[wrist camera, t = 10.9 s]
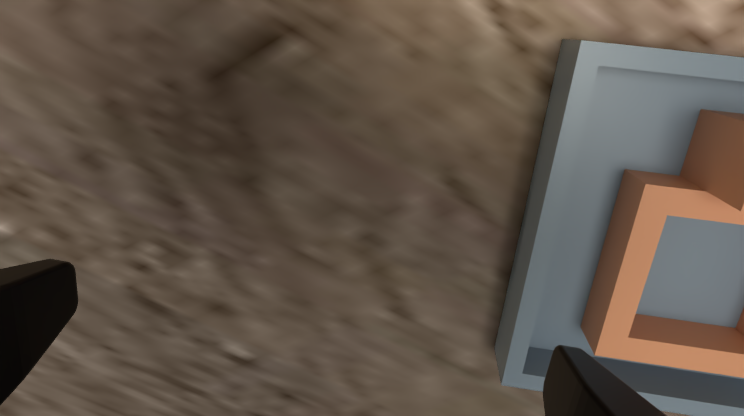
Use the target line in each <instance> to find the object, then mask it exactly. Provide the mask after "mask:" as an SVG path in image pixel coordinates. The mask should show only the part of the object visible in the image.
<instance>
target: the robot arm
mask: <svg viewBox="0 0 744 416" xmlns="http://www.w3.org/2000/svg"><path fill="white" fill-rule="evenodd" d="M77 305H78V294H77V283H76V273H75V268H74V266H73V265H72V264H71V263H70V262H66V261H60V260H54V259H46V260H42V261H37V262H32V263H27V264H23V265H18V266H13V267H8V268H4V269H0V405H1V404H2V403H3V402H4V401H5V400H6V399H7V397H8V396H9V395H10V394H11V393H12V392H13V391H14V390H15V389H16V388H17V386H18V385H19V384H20V383H21V382H22V381H23V380H24V378H25V377H26V376H27V375H28V373H29V372H30V371H31V370H32V368H33V367H34V366H35V365H36V363H37V362H38V361H39V359H40V358H41V357H42V355H43V354H44V353H45V351H46V350H47V349H48V348H49V346H50V345H51V344H52V342H53V341H54V340H55V338H56V337H57V336H58V334H59V333H60V332H61V330H62V329H63V328H64V327H65V325H66V324H67V323H68V321H69V320H70V319H71V317H72V316H73V315H74V313H75V311H76V309H77ZM543 401H544V409H545V416H666V415H665V414H664V413H663V412H661V411H660V410H659V409H657V408H656V407H655V406H654V405H652V404H651V403H650V402H649V401H647V400H646V399H645V398H643V397H642V396H641V395H640V394H638V393H637V392H636V391H635V390H633V389H632V388H631V387H629V386H628V385H627V384H626V383H624V382H623V381H622V380H620V379H619V378H618V377H617V376H615V375H614V374H613V373H612V372H610V371H609V370H608V369H606V368H605V367H604V366H603V365H601V364H600V363H599V362H598V361H596V360H595V359H594V358H592V357H591V356H590V355H589V354H587V353H586V352H585V351H584V350H582V349H580V348H577V347H571V346H565V345H558V346H556V347H555V349H554V350H553V353H552V356H551V360H550V363H549V367H548V370H547V373H546V377H545V380H544V385H543Z"/></svg>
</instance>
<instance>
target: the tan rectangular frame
mask: <svg viewBox="0 0 744 416" xmlns="http://www.w3.org/2000/svg"><path fill="white" fill-rule="evenodd" d="M667 215H669V216H677V217H685V218H693V219H701V220H708V221H716V222H724V223H732V224H740V225H744V114H741V113H732V112H723V111H714V110H706V109H701V110H700V113H699V116H698V120H697V123H696V126H695V129H694V132H693V135H692V138H691V141H690V144H689V148H688V151H687V154H686V157H685V160H684V163H683V166H682V169H681V173H680V176H678V175H669V174H661V173H653V172H645V171H637V170H628V169H625V170H624V174H623V177H622V181H621V184H620V188H619V191H618V195H617V198H616V202H615V206H614V209H613V213H612V216H611V220H610V223H609V227H608V230H607V234H606V238H605V241H604V245H603V248H602V252H601V255H600V259H599V263H598V266H597V270H596V273H595V277H594V280H593V284H592V287H591V291H590V295H589V298H588V302H587V305H586V309H585V312H584V316H583V319H582V323H581V329H582V331H583V333H584V335H585V337H586V339H587V341H588V343H589V345H590V347H591V349H592V351H593V353H594V355H596V356H602V357H609V358H616V359H622V360H629V361H635V362H642V363H649V364H655V365H662V366H669V367H675V368H682V369H689V370H695V371H702V372H708V373H715V374H722V375H728V376H735V377H742V378H744V308H743V311H742V313H741V316H740V318H739V321H738V323H737V325H736V328H732V327H725V326H718V325H711V324H704V323H697V322H690V321H683V320H676V319H669V318H662V317H655V316H648V315H641V314H636V311H637V308H638V305H639V301H640V298H641V295H642V292H643V289H644V286H645V283H646V280H647V277H648V273H649V270H650V267H651V264H652V261H653V258H654V255H655V252H656V249H657V246H658V242H659V239H660V236H661V233H662V230H663V227H664V224H665V221H666V218H667Z"/></svg>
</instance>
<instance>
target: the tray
mask: <svg viewBox="0 0 744 416" xmlns="http://www.w3.org/2000/svg"><path fill="white" fill-rule="evenodd" d="M701 109H706V110H714V111H723V112H732V113H741V114H744V58H743V57H734V56H724V55H715V54H706V53H696V52H687V51H678V50H668V49H659V48H649V47H640V46H631V45H621V44H612V43H603V42H593V41H584V40H568V39H562V44H561V48H560V53H559V57H558V62H557V66H556V71H555V75H554V80H553V84H552V89H551V94H550V98H549V103H548V107H547V112H546V116H545V121H544V125H543V130H542V134H541V139H540V144H539V148H538V153H537V157H536V162H535V166H534V171H533V175H532V180H531V184H530V189H529V194H528V198H527V203H526V207H525V212H524V216H523V221H522V225H521V230H520V234H519V239H518V244H517V248H516V253H515V257H514V262H513V266H512V271H511V275H510V280H509V284H508V289H507V294H506V298H505V303H504V307H503V312H502V316H501V321H500V325H499V330H498V334H497V339H496V344H495V348H494V349H495V355H496V360H497V365H498V370H499V376H500V381H501V385H504V386H511V387H517V388H523V389H529V390H536V391H542V392H543V385H544V380H545V377H546V373H547V370H548V367H549V363H550V360H551V356H552V353H553V350H554V349H555V347H556V346H558V345H565V346H571V347H577V348H580V349H582V350H584V351H585V352H586V353H587V354H589V355H590V356H591V357H592V358H594V359H595V360H596V361H598V362H599V363H600V364H601V365H603V366H604V367H605V368H606V369H608V370H609V371H610V372H612V373H613V374H614V375H615V376H617V377H618V378H619V379H620V380H622V381H623V382H624V383H626V384H627V385H628V386H629V387H631V388H632V389H633V390H635V391H636V392H637V393H638V394H640V395H641V396H642V397H643V398H645V399H646V400H647V401H649V402H650V403H651V404H652V405H654V406H655V407H656V408H657V409H659V410H661V411H667V412H673V413H679V414H686V415H692V416H744V378H742V377H735V376H728V375H722V374H715V373H708V372H702V371H695V370H689V369H682V368H675V367H669V366H662V365H655V364H649V363H642V362H635V361H629V360H622V359H616V358H609V357H602V356H596V355H594V353H593V351H592V349H591V347H590V345H589V343H588V341H587V339H586V337H585V335H584V333H583V331H582V329H581V323H582V319H583V316H584V312H585V309H586V305H587V302H588V298H589V295H590V291H591V287H592V284H593V280H594V277H595V273H596V270H597V266H598V263H599V259H600V255H601V252H602V248H603V245H604V241H605V238H606V234H607V230H608V227H609V223H610V220H611V216H612V213H613V209H614V206H615V202H616V198H617V195H618V191H619V188H620V184H621V181H622V177H623V174H624V170H625V169H628V170H637V171H645V172H653V173H661V174H669V175H678V176H680V173H681V169H682V166H683V163H684V160H685V157H686V154H687V151H688V148H689V144H690V141H691V138H692V135H693V132H694V129H695V126H696V123H697V120H698V116H699V113H700V110H701ZM743 308H744V225H740V224H732V223H724V222H716V221H708V220H701V219H693V218H685V217H677V216H669V215H667V218H666V221H665V224H664V227H663V230H662V233H661V236H660V239H659V242H658V246H657V249H656V252H655V255H654V258H653V261H652V264H651V267H650V270H649V273H648V277H647V280H646V283H645V286H644V289H643V292H642V295H641V298H640V301H639V305H638V308H637V311H636V314H641V315H648V316H655V317H662V318H669V319H676V320H683V321H690V322H697V323H704V324H711V325H718V326H725V327H732V328H736V325H737V323H738V321H739V318H740V316H741V313H742V311H743Z"/></svg>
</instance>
